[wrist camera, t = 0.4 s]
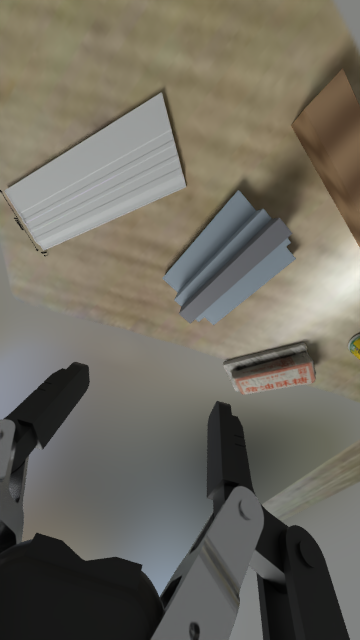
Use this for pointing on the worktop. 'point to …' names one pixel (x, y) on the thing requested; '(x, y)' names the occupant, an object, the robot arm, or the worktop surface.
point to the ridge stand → (229, 261)
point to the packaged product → (271, 369)
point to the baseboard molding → (101, 177)
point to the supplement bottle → (355, 346)
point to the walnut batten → (335, 145)
